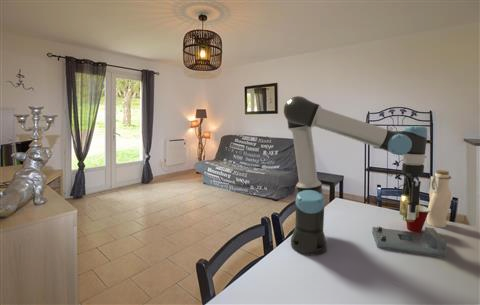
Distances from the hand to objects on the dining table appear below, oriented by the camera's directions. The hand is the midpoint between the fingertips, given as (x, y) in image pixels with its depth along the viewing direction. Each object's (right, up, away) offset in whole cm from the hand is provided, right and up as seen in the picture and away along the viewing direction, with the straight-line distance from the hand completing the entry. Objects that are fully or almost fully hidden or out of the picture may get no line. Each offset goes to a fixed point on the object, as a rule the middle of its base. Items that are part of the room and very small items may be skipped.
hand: (408, 215), depth 109 cm
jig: (0, -13, +2) cm, 13 cm away
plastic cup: (+13, -11, +15) cm, 23 cm away
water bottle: (+28, -10, +21) cm, 36 cm away
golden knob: (0, -2, 0) cm, 2 cm away
